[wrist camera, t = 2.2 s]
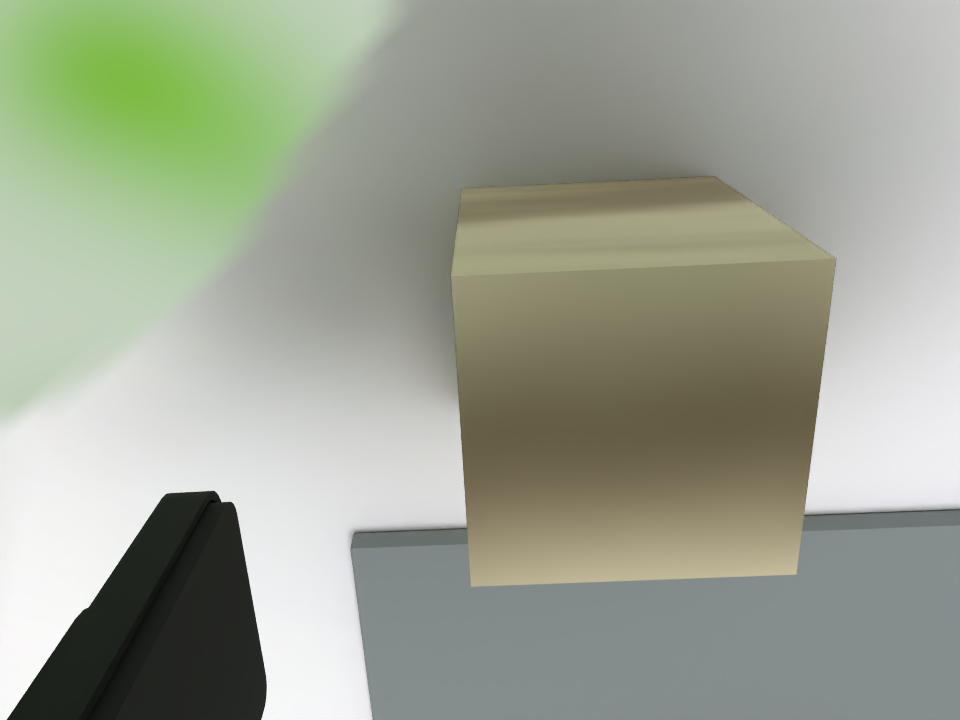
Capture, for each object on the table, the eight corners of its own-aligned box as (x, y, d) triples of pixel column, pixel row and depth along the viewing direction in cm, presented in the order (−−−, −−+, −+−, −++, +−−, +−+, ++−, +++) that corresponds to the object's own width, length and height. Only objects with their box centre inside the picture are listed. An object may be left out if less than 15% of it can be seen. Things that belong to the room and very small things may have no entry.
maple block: (461, 187, 16) (450, 276, 11) (714, 175, 16) (835, 258, 10) (474, 412, 18) (470, 586, 13) (699, 403, 18) (795, 575, 12)
